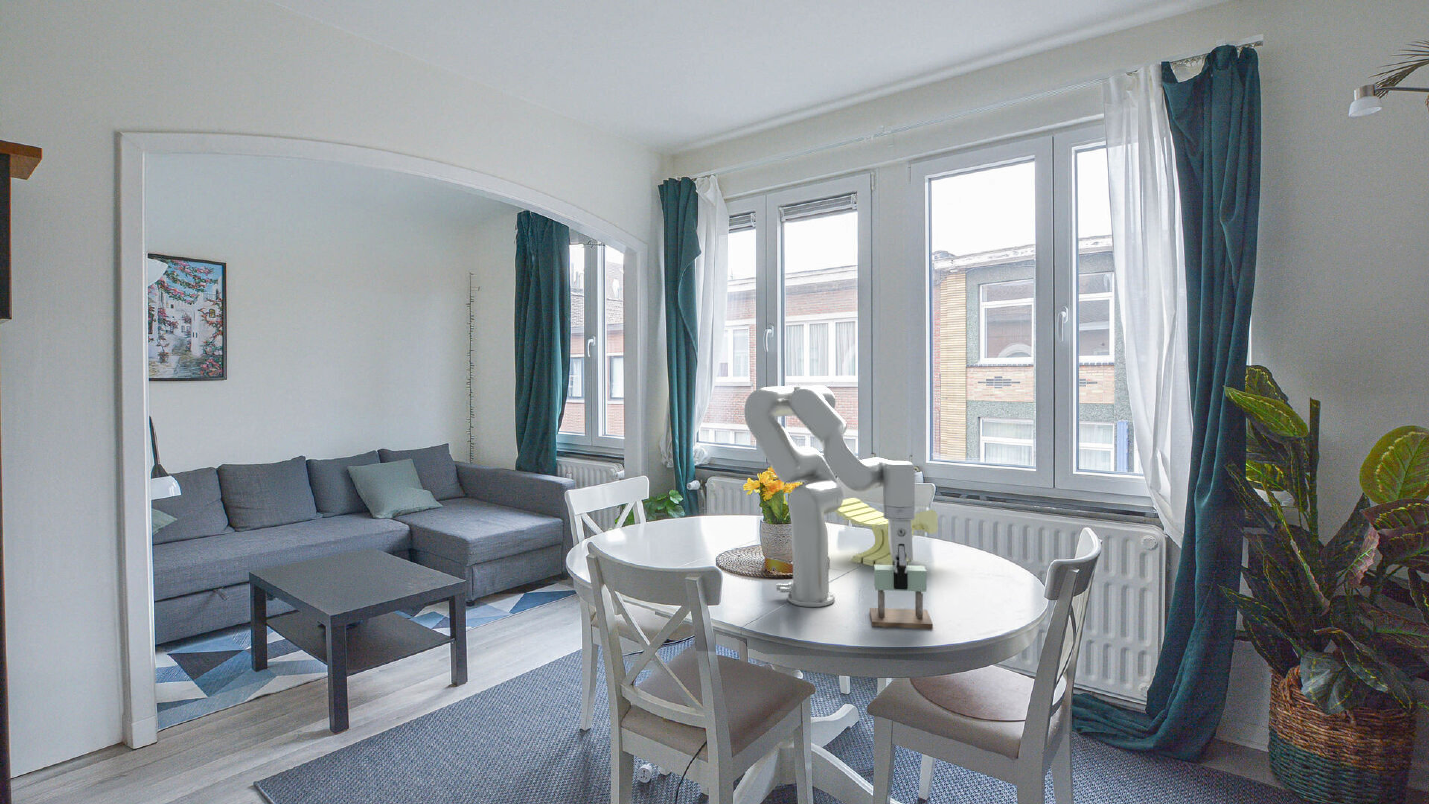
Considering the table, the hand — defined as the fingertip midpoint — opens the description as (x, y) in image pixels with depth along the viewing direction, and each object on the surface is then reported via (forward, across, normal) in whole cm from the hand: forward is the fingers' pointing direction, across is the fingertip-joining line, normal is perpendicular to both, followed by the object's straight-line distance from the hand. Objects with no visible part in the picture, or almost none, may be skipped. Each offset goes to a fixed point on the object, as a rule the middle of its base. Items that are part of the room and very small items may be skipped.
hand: (899, 585), depth 174 cm
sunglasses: (+9, +42, +29) cm, 52 cm away
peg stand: (+9, 0, 0) cm, 9 cm away
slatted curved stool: (+9, +56, 0) cm, 56 cm away
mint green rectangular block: (+1, 0, 0) cm, 1 cm away
